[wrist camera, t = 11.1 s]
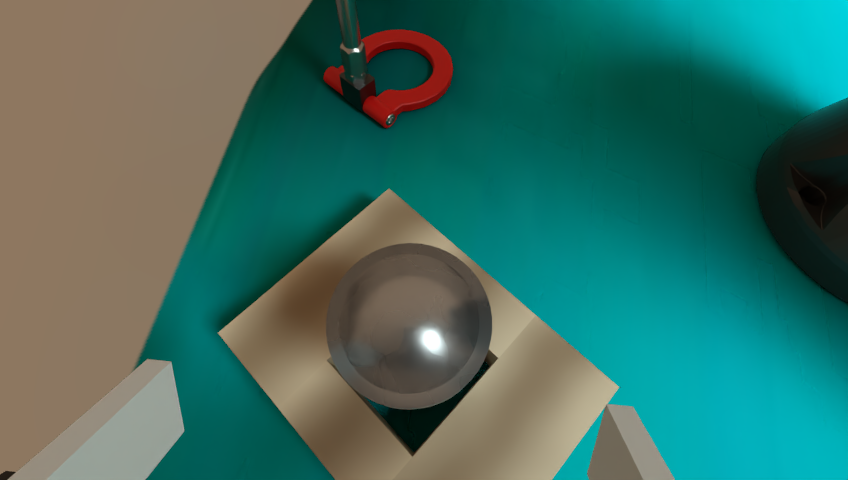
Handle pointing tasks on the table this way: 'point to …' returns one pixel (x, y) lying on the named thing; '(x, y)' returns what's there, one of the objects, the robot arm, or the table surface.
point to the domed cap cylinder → (409, 326)
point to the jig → (470, 418)
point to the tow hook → (361, 85)
